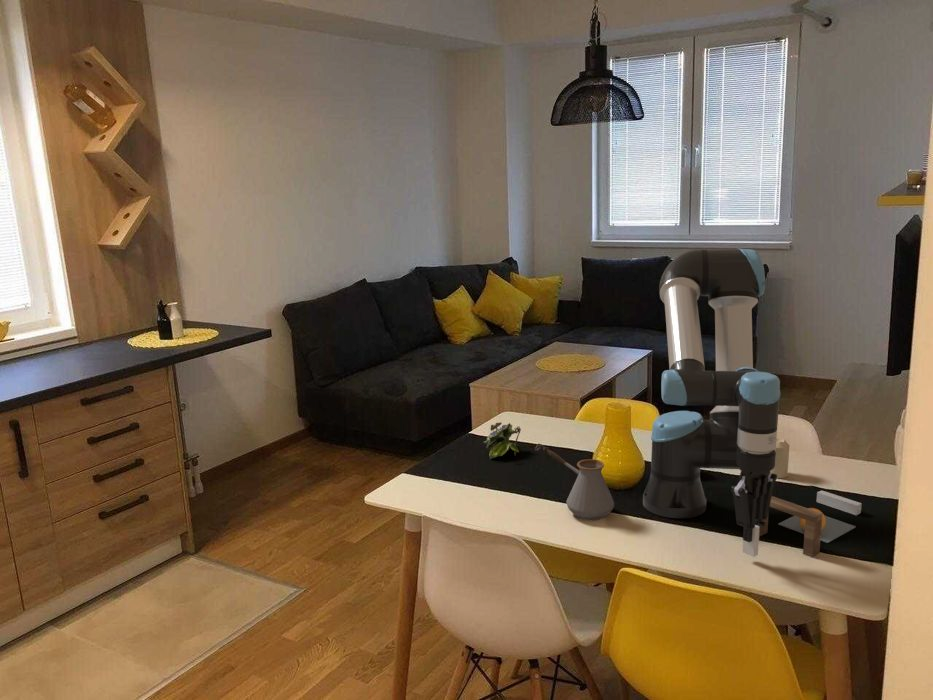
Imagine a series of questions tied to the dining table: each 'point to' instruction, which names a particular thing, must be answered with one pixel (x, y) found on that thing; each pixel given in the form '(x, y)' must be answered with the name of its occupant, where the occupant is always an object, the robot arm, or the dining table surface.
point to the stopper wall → (839, 502)
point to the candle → (781, 459)
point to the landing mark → (827, 533)
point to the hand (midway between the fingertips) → (750, 553)
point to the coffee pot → (587, 489)
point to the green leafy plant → (501, 440)
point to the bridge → (811, 524)
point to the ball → (802, 521)
